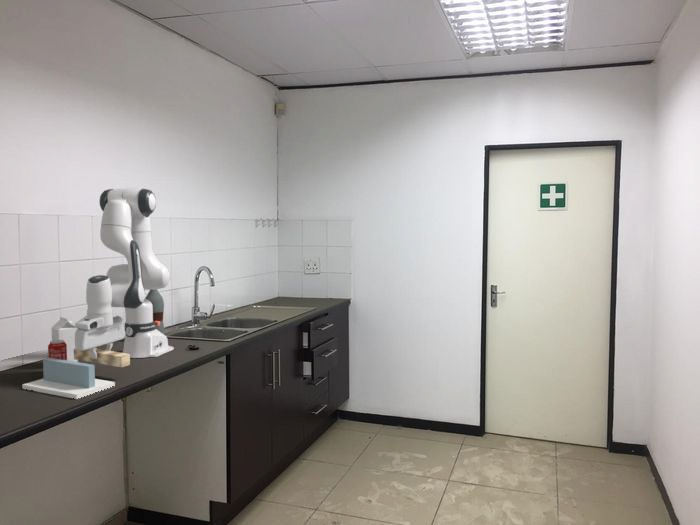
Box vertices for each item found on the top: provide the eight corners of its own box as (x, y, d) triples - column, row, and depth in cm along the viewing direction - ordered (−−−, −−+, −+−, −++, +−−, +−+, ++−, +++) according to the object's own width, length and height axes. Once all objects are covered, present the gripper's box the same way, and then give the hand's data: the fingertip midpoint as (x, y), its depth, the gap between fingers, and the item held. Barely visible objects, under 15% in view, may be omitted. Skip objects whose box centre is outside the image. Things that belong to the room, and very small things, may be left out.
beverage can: (62, 369, 227) (61, 338, 226) (70, 372, 223) (69, 341, 222) (46, 372, 222) (44, 341, 221) (53, 375, 218) (52, 343, 217)
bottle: (168, 338, 283) (167, 277, 281) (157, 342, 275) (156, 279, 272) (151, 337, 286) (150, 276, 283) (140, 341, 277) (139, 278, 274)
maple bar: (74, 359, 221) (73, 348, 220) (82, 356, 224) (82, 346, 224) (121, 367, 211) (121, 356, 211) (130, 364, 215) (129, 353, 214)
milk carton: (59, 368, 228) (58, 320, 227) (52, 364, 233) (50, 317, 232) (78, 364, 234) (76, 317, 232) (70, 361, 238) (69, 315, 237)
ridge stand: (62, 377, 216) (61, 353, 215) (114, 386, 205) (114, 361, 204) (22, 388, 201) (21, 363, 200) (76, 399, 191) (76, 372, 190)
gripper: (115, 314, 227) (116, 348, 228) (71, 324, 208) (72, 362, 210) (127, 315, 224) (129, 350, 226) (83, 326, 206) (85, 364, 207)
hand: (101, 356), depth 218 cm, fingers closed on maple bar, 4 cm apart
